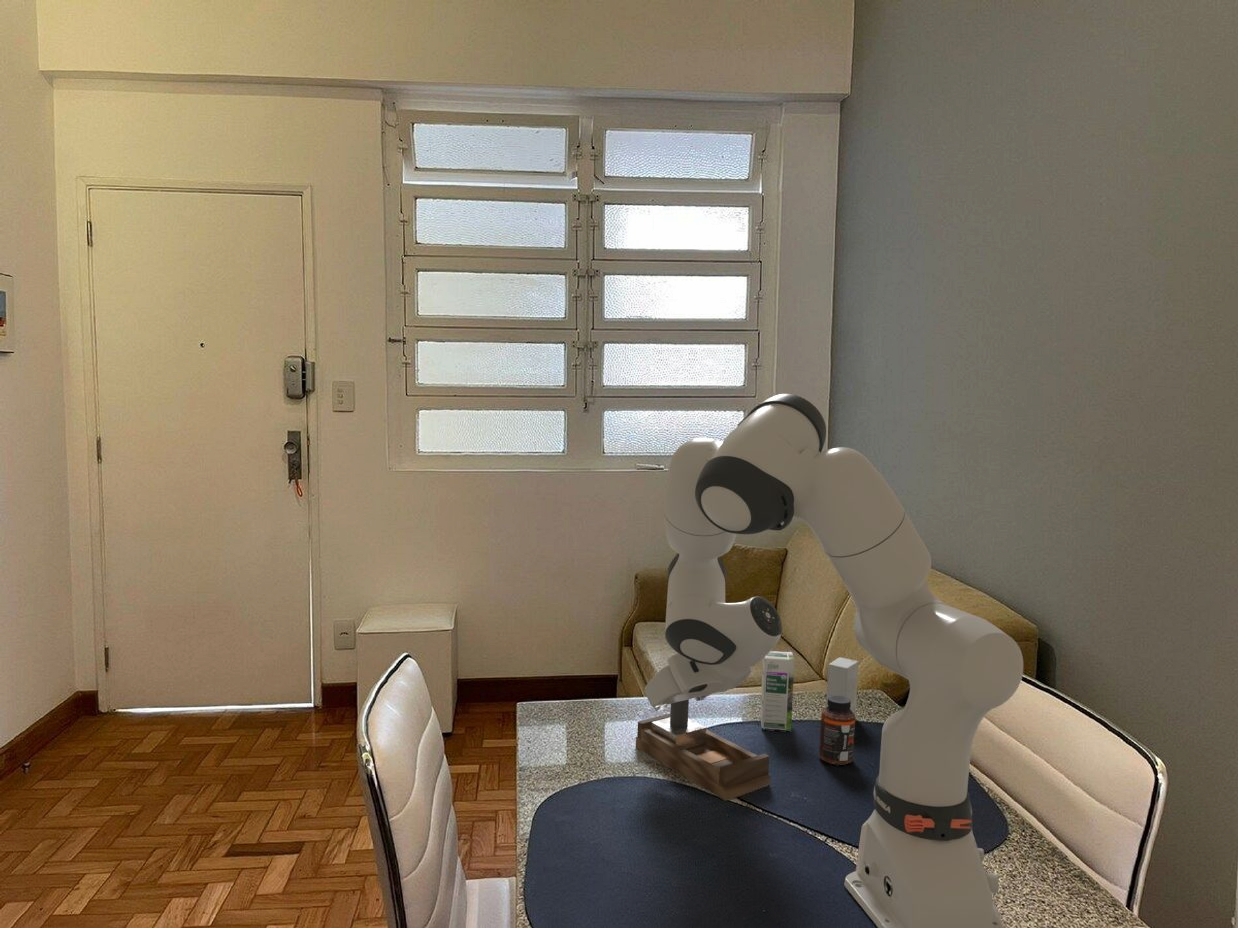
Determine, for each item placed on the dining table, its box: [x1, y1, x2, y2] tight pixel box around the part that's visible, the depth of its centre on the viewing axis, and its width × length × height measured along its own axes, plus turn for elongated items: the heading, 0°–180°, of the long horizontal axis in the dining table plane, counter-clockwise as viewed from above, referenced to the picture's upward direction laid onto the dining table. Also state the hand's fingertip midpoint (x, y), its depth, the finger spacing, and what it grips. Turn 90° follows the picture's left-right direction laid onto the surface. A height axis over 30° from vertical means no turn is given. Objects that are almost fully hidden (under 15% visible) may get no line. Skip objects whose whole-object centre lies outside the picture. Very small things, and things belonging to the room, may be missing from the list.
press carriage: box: [651, 699, 707, 749], centre depth 154 cm, size 7×7×12 cm
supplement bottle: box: [818, 695, 856, 765], centre depth 154 cm, size 6×6×11 cm
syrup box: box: [759, 650, 795, 731], centre depth 169 cm, size 6×6×14 cm
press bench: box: [635, 713, 771, 801], centre depth 150 cm, size 24×10×5 cm, turn 36°
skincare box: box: [825, 656, 859, 717], centre depth 173 cm, size 6×4×12 cm
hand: (677, 701), depth 155 cm, fingers open, 8 cm apart
